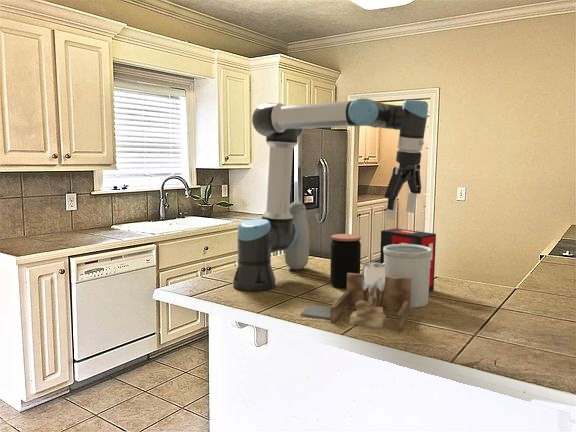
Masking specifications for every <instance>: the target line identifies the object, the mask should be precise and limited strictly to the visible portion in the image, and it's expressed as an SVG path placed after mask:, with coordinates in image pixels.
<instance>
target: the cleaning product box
mask: <svg viewBox="0 0 576 432" xmlns="http://www.w3.org/2000/svg"><path fill="white" fill-rule="evenodd" d="M436 242H437V234H436V233H432V232H426V231H418V230H412V229H410V230H409V229H405V228H404V229H402V228H397V227H396V228H391V229H384V230H380V255H379V256H380V262H379V263H382V264H384V252H383V247H384V246H387V245H392V244H414V245H421V246H426V247H429V248H431V250H432V253H431V255H430V276H429V293H430V292H434V289H435V269H436V268H435V267H436V245H437V244H436Z"/></svg>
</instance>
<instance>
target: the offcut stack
mask: <svg viewBox="0 0 576 432" xmlns="http://www.w3.org/2000/svg"><path fill="white" fill-rule="evenodd" d="M354 308H355V309H356V310H354V311H352V313H351V314H350V315H349V324H350V325H358V326H365V327H372V328H380V329H383V328H384V326H385V324H386V321H387V319H386V317H387V316H386V314H384V315H383V313H384V309H383V307H373V303H372V302H367V301H362V300H360V301H358V302H356V303H355V306H354Z"/></svg>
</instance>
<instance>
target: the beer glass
mask: <svg viewBox="0 0 576 432" xmlns="http://www.w3.org/2000/svg"><path fill="white" fill-rule="evenodd" d="M361 270H362V272H361V274H362V288H363V295H364V301H367V302H372V303H373V307H383V297H384V293H385V287H386V265H385V264H382V263H380V262H375V261H374V262H365V263H363V264H362V269H361ZM383 315H385V313H384V312H383Z"/></svg>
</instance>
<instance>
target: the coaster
mask: <svg viewBox="0 0 576 432" xmlns="http://www.w3.org/2000/svg"><path fill="white" fill-rule="evenodd" d="M300 316H302V317H308V318H315V319H316V318H317V319H322V320H331V306H324V305H323V306H322V305H316V304H310V305H309V306H307V308H305V309H304V310H303V311H302V312H301V313H300Z"/></svg>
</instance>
